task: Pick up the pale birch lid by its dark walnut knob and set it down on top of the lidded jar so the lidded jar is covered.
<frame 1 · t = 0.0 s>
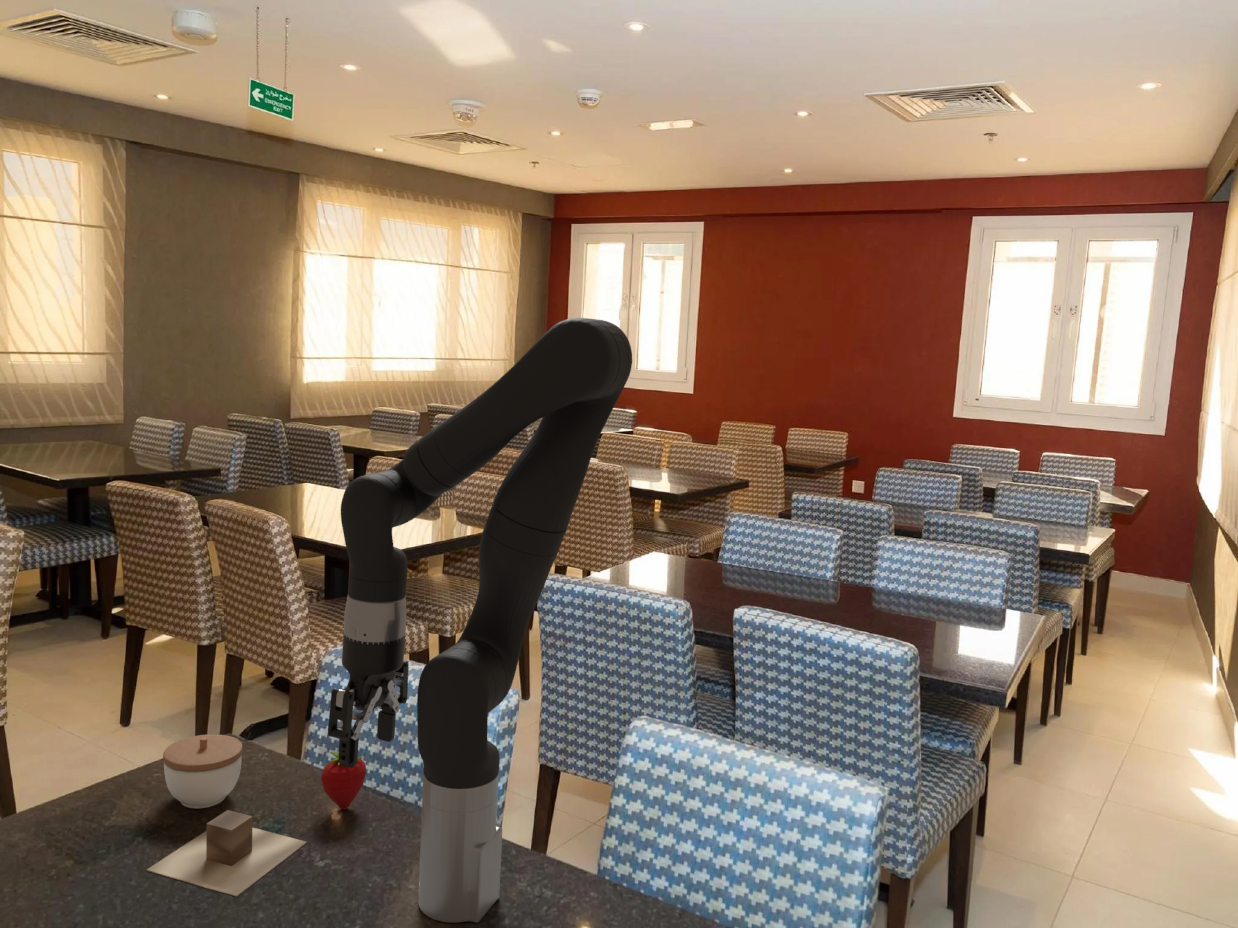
hand: (367, 751, 124), 17 cm above the table, tool pointing down, fingers open, 8 cm apart
lid: (229, 860, 129), on the table
strawberry: (343, 810, 143), on the table
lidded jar: (203, 799, 144), on the table
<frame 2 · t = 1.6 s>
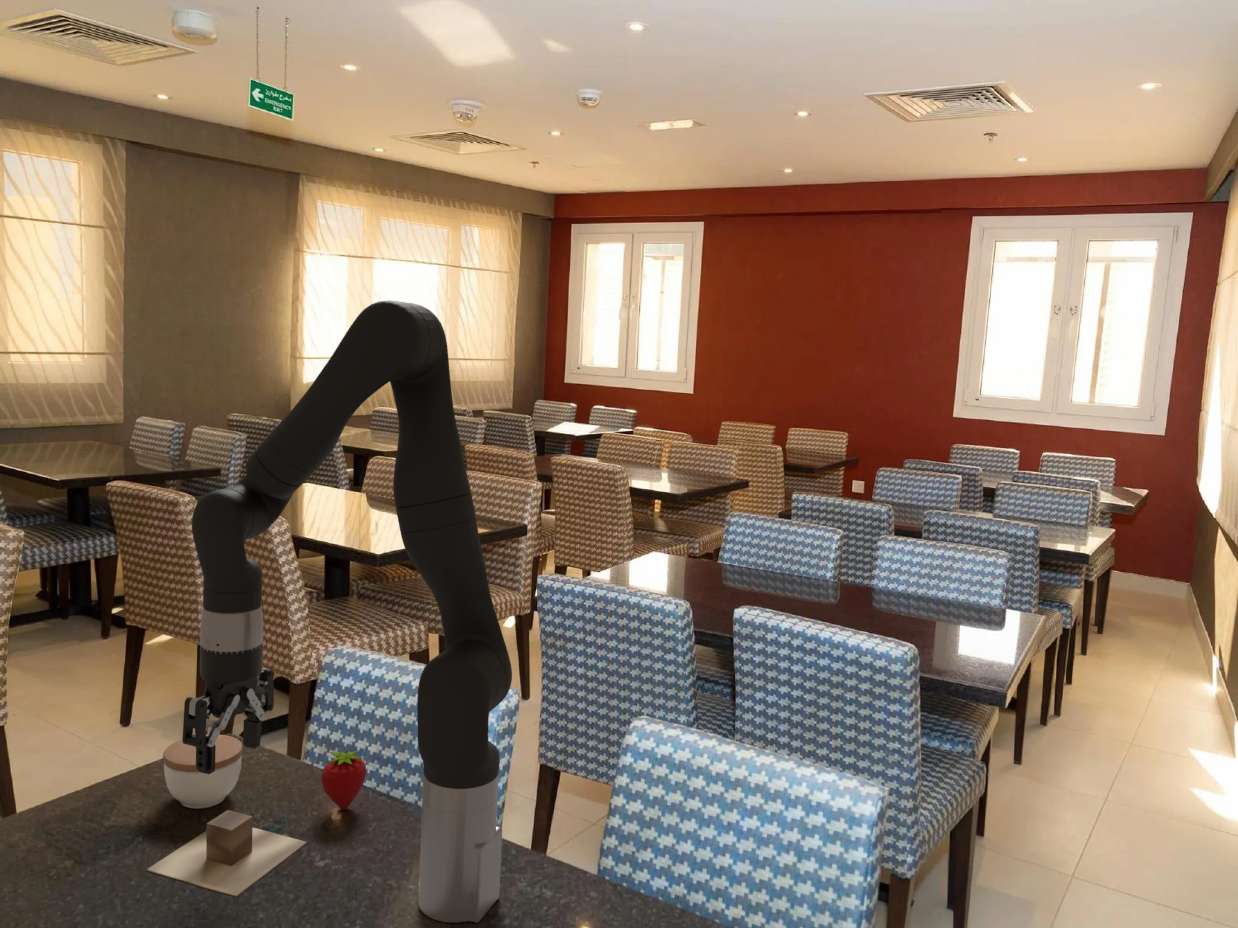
hand: (229, 758, 127), 14 cm above the table, tool pointing down, fingers open, 8 cm apart
nothing on the table moved.
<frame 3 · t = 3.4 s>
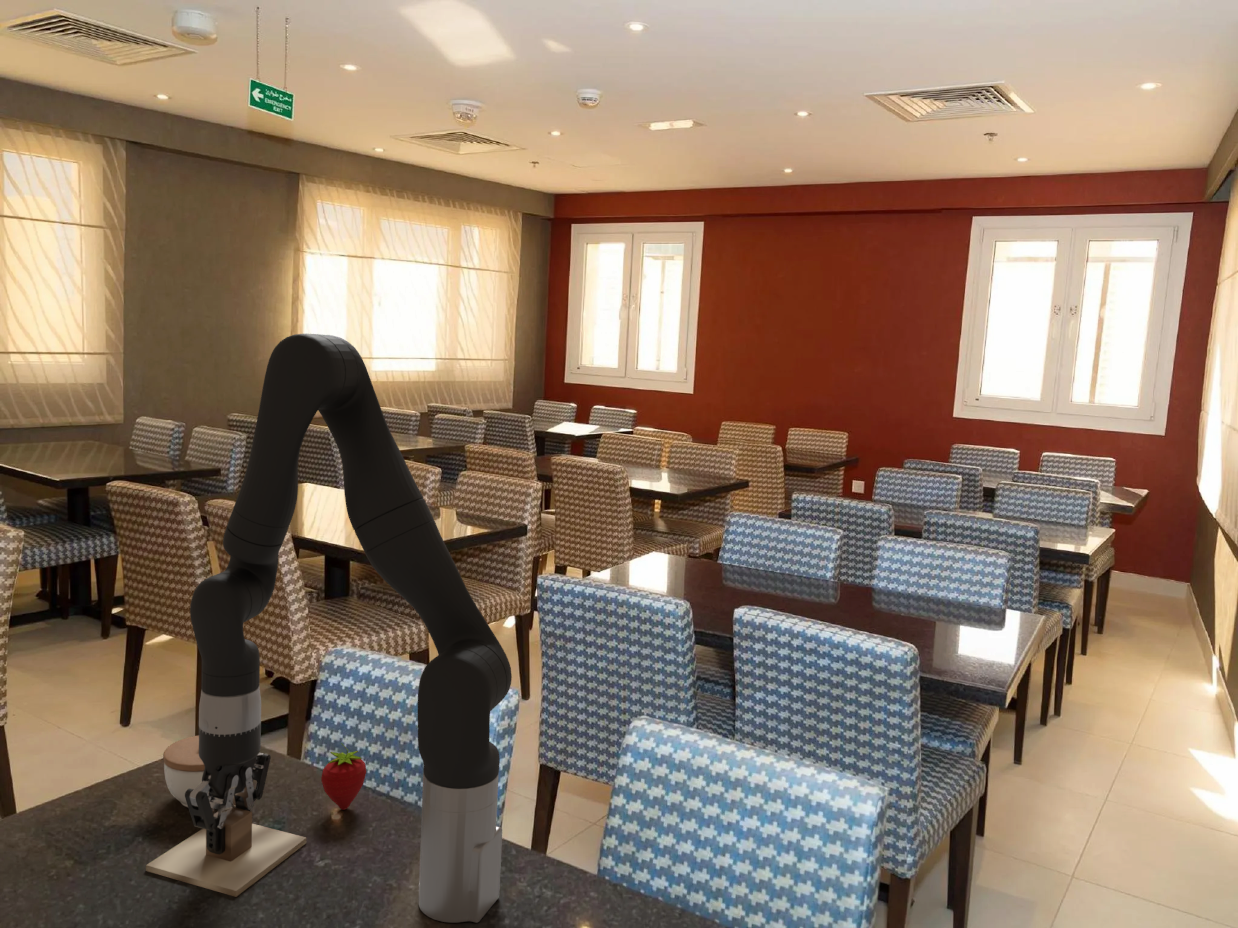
hand: (228, 842, 129), 2 cm above the table, tool pointing down, fingers closed on lid, 4 cm apart
lid: (228, 856, 129), on the table, touching gripper
everything else where it was.
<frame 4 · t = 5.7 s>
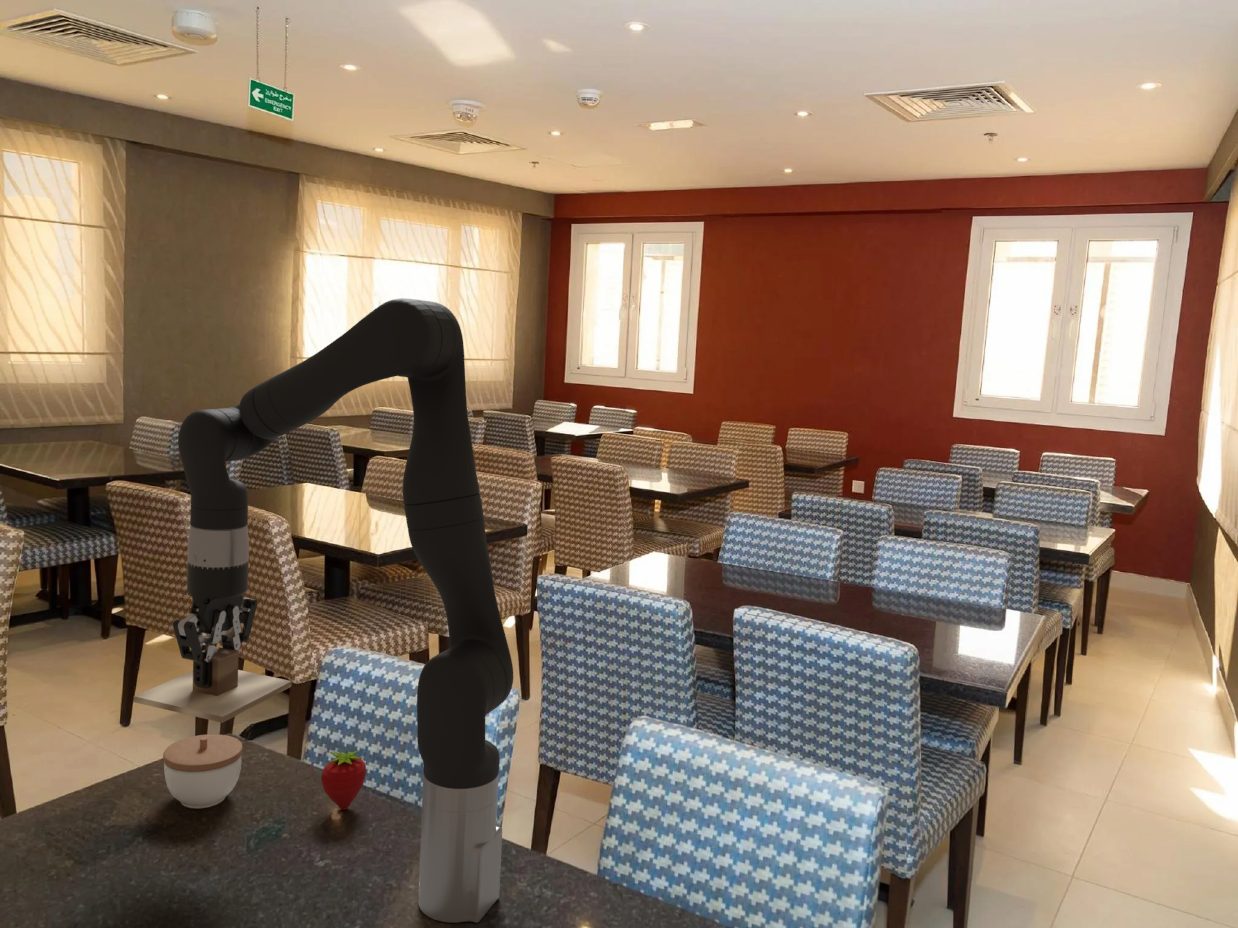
hand: (215, 680, 131), 22 cm above the table, tool pointing down, fingers closed on lid, 4 cm apart
lid: (215, 693, 132), point 20 cm above the table, touching gripper
everything else where it was.
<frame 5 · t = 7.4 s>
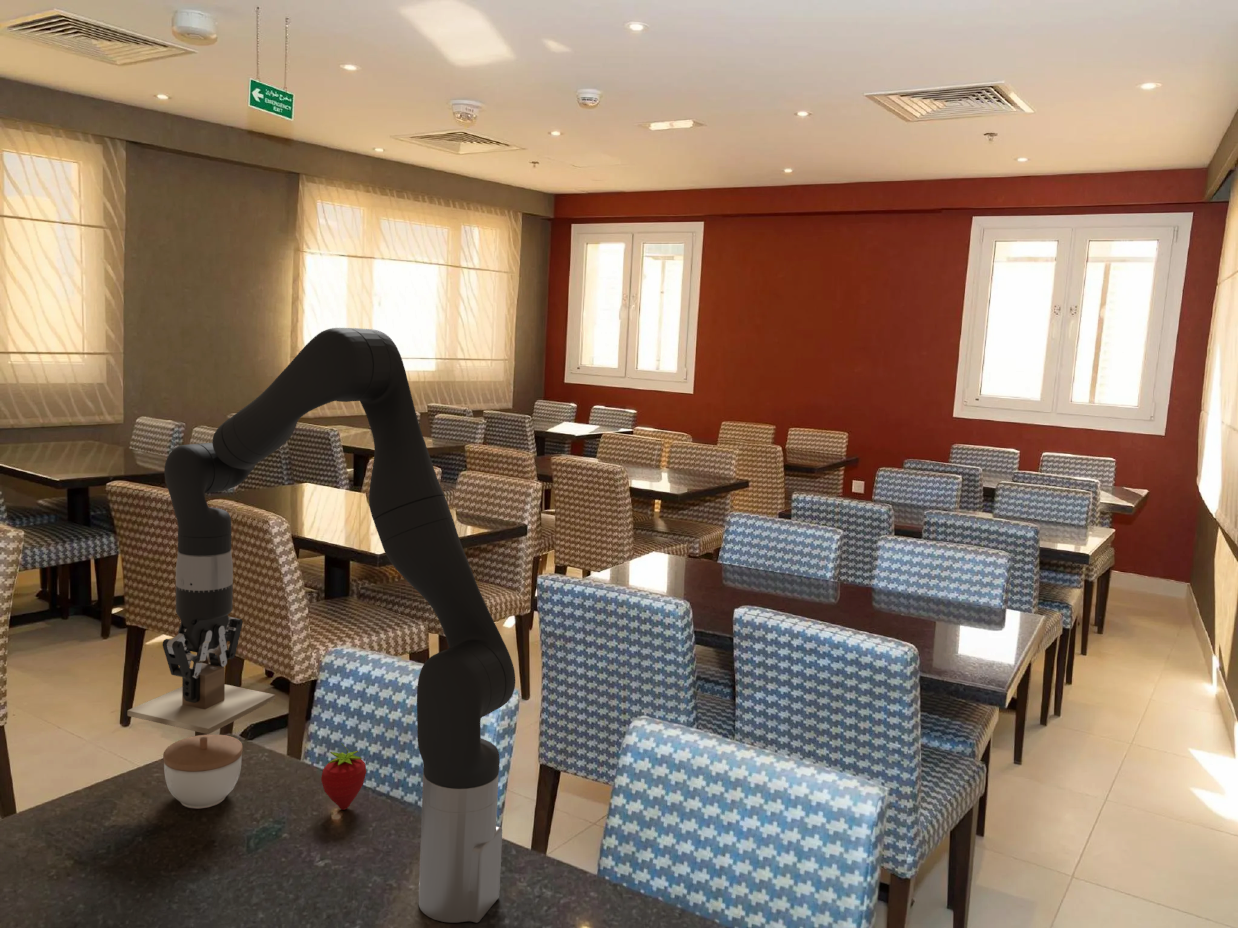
hand: (203, 695, 141), 16 cm above the table, tool pointing down, fingers closed on lid, 4 cm apart
lid: (203, 707, 142), point 14 cm above the table, touching gripper
everything else where it was.
when the fingers open (12 cm above the table, at t = 8.4 s): lid stays where it is, resting on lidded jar.
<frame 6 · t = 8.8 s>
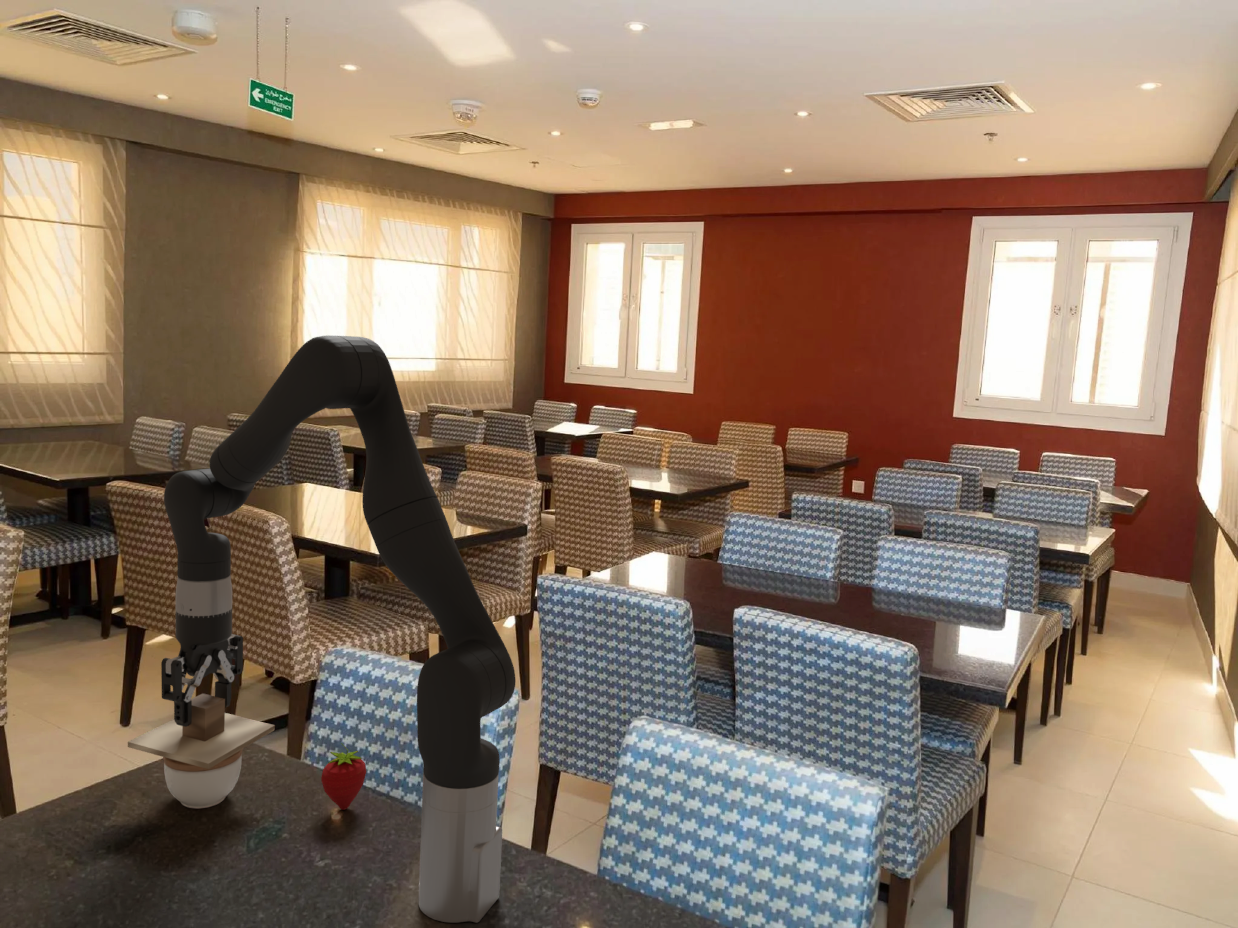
hand: (203, 715, 142), 13 cm above the table, tool pointing down, fingers open, 7 cm apart
lid: (203, 738, 142), point 9 cm above the table, touching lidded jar
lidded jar: (203, 799, 144), on the table, touching lid
everything else where it was.
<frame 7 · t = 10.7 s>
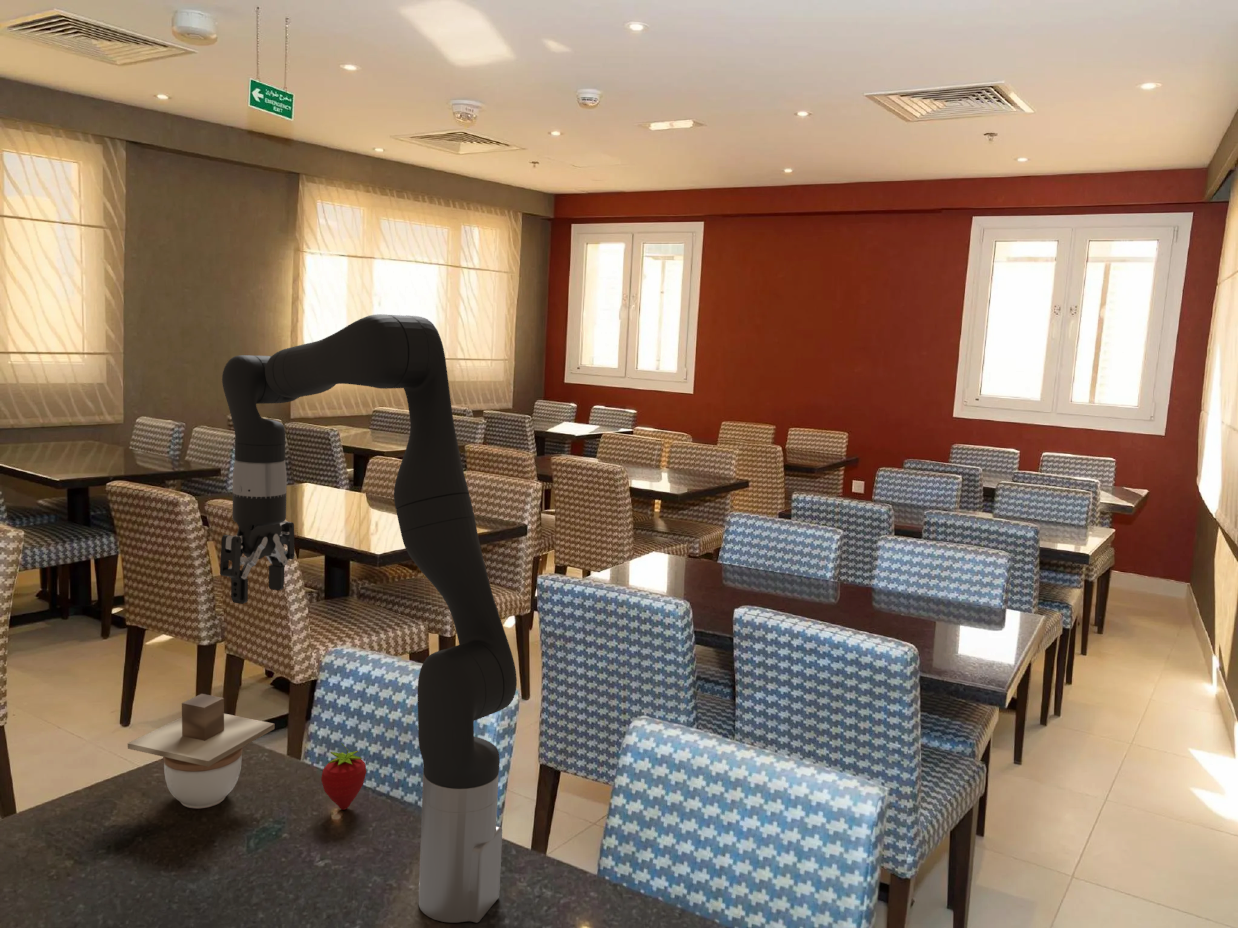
hand: (258, 595, 147), 29 cm above the table, tool pointing down, fingers open, 8 cm apart
nothing on the table moved.
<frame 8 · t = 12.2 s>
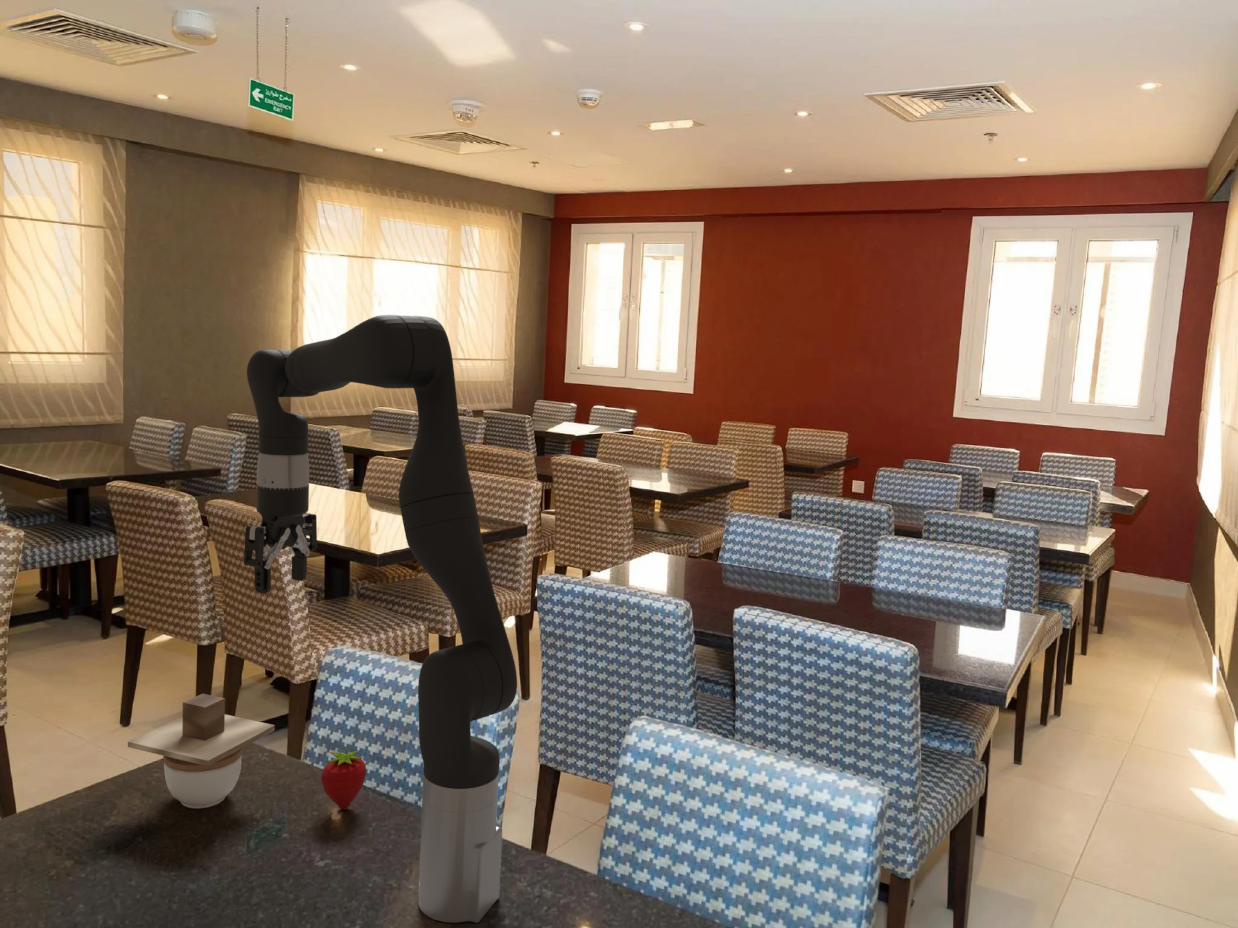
hand: (281, 585, 150), 30 cm above the table, tool pointing down, fingers open, 8 cm apart
nothing on the table moved.
at the end: lid 0.1 cm from the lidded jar (horizontally); lid point 9.4 cm above the table; lid tilted 2° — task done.
